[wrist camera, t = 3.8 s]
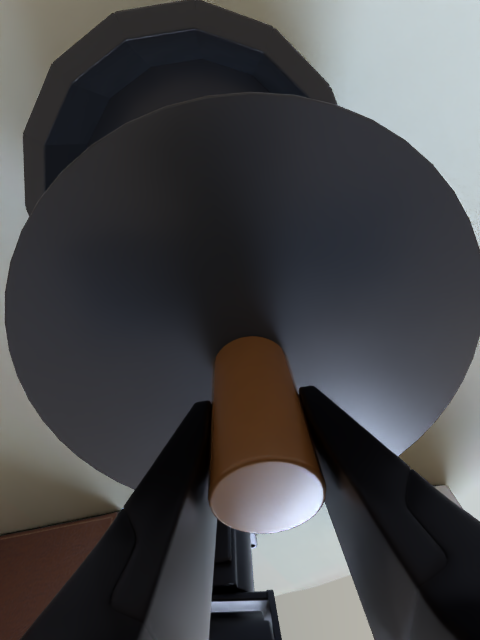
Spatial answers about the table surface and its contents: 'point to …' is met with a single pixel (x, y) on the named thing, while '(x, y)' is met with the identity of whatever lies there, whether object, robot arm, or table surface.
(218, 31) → the pot
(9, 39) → the table surface
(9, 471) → the table surface
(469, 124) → the table surface
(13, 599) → the letter holder
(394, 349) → the lid
